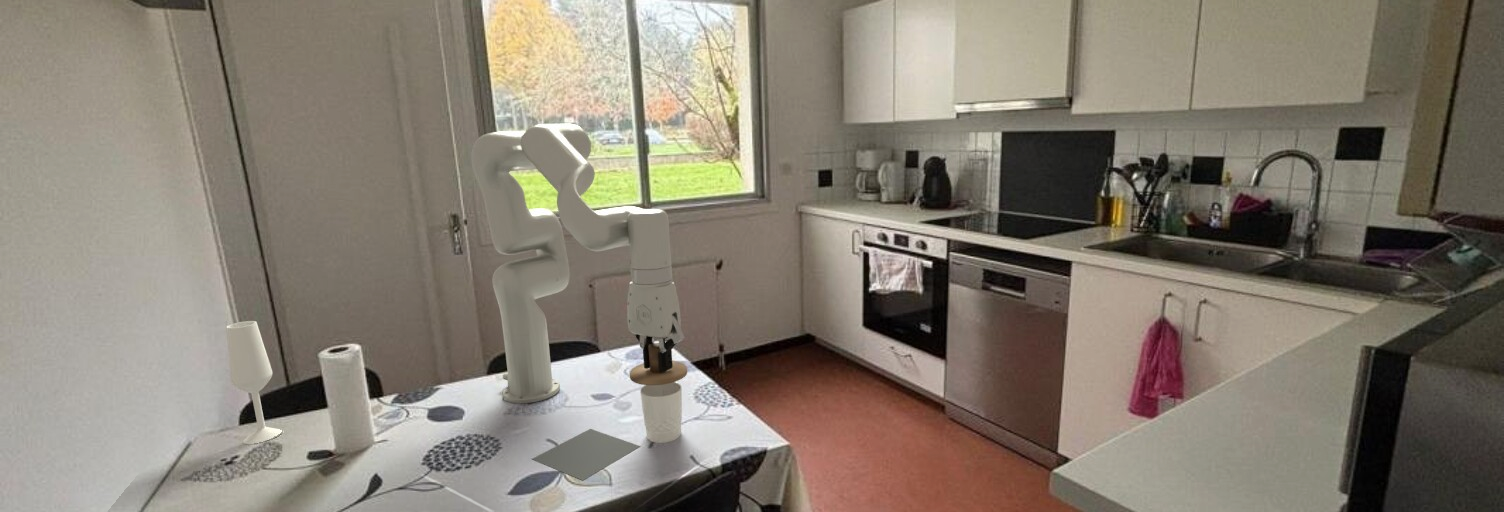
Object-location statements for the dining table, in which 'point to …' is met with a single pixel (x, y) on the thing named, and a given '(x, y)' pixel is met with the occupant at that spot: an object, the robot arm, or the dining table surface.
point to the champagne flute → (250, 371)
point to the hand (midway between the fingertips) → (658, 367)
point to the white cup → (662, 411)
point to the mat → (586, 454)
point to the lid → (657, 370)
